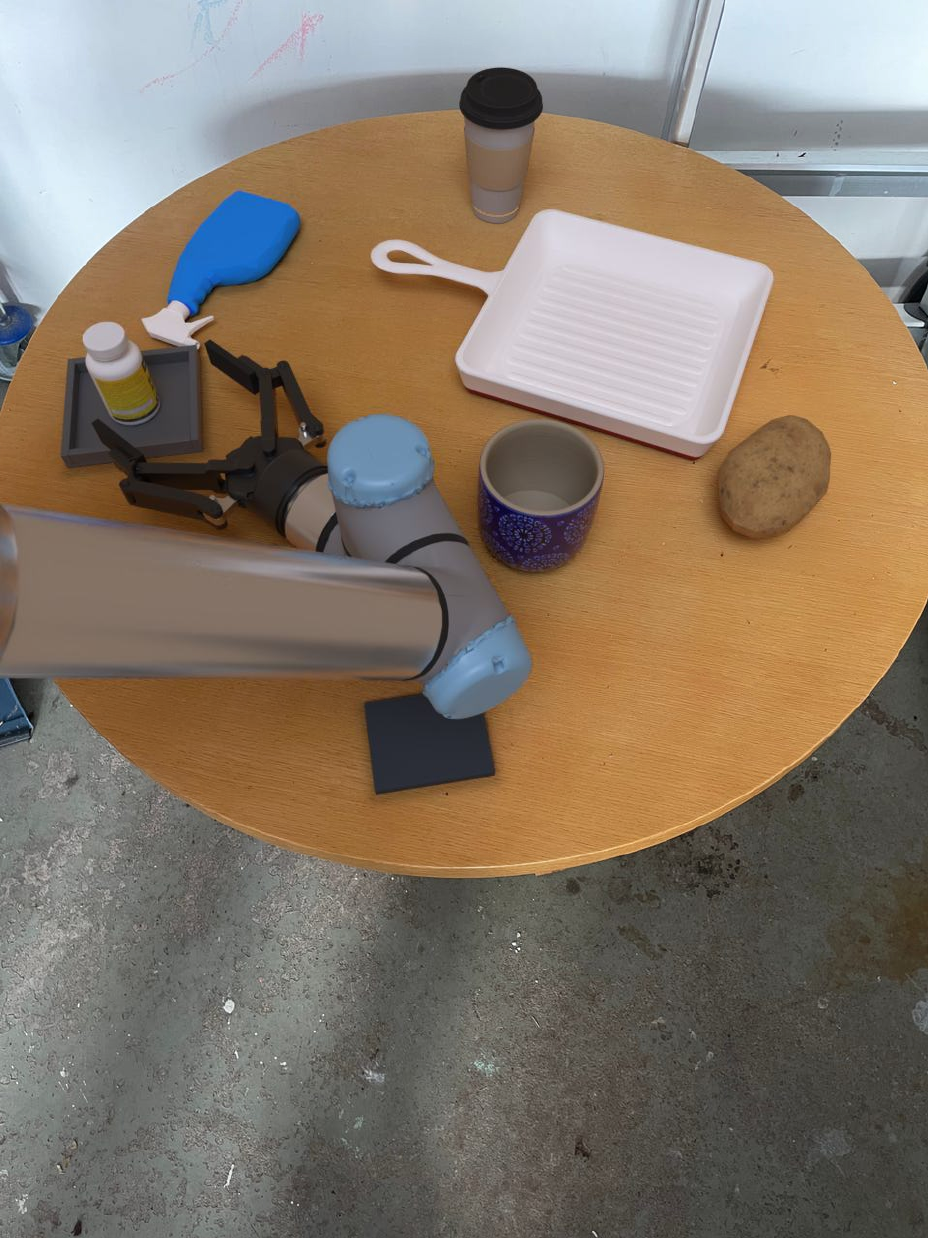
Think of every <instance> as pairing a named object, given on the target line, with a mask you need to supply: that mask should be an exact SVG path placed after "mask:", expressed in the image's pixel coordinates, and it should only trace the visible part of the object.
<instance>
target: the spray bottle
mask: <svg viewBox="0 0 928 1238" xmlns="http://www.w3.org/2000/svg"><path fill="white" fill-rule="evenodd" d="M301 223H302V221H301V215H300V214H299V212H298V211H297V210H296V209H294V207H293V206H292V205H290V204H289V203H286V202H282V201H279V200H275V199H271V198H269V197H266V196H265V197H264V196H261V195H257V194H254V193H251V192H247V191H244V190H241V189H240V190H239V189H238V190H236V191H235V192H233V193H232V194H230V195H229V196H228V197H226V198H225V199H224V200H223V201H222V202H221V203H220V204H219V205H217V207H216V208H215V209H214V210H213V211H212V212H211V213H210V214H209V215H208V216H207V217H206V218H205V219H204V221H203V222H201V223H200V225H199V227H197V229H196V230H195V232H194V233H193V235H192V236H191V237H190V239H189V241H187V243H186V245H185V247H184V249H183V250H182V251H181V253H180V255H179V257H178V259H177V263H176V265H175V269H174V272H173V274H172V278H171V282H170V286H169V289H168V294H167V297H166V302H167V305H168V306H167V307H163V308H162V309H161V310H160V311H159V312H157V313H156V314H154V315H151V316H148V317H142V318H141V319H140V320H141V322H142V325H143V327H144V329H145V330H146V332H147V333H148V335H149V336H150V337H151V338H154V339H156V340H159V341H161V342H165V343H168V344H170V345H174V346H175V347H180V346H189V345H196V346H197V349H198V350H199V349H200V347H201V343H200V341H199V340H196V339H194V338H192V335H193V334H194V333H195V332H196V331H198V330H200V329H201V328H203V327H204V326H206V325H207V324H208V323H210V322H213V321H214V320H215V318H214V315H210V316H207V317H203V318H201V319H198V320H194V321H193V322H185V321H186V319H187V318H188V317H194V316H196V315H197V314H198V312H199V310H200V309H199V308H200V305H201V304H202V303H204V302H205V299H206V297H207V295H209V294H211V291H212V289H213V288H215V287H218V286H219V287H220V286H221V287H230V286H231V287H232V286H237V285H243V284H245V285H246V284H250V283H254V282H255V281H257V280H259V279H261V278H263V277H265V276H267V275H268V274H269V273H270V272H272V269H274V268H275V266H276V265H277V264H278V263H279V261H280V260H281V259H282V258H283V257H284V255H285V254H286V252H287V250H288V248H289V247H290V245H291V243H292V242H293V240H294V239H295V237H296V235H297V234H298V232H299V231H300V228H301Z"/></svg>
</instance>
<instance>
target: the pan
mask: <svg viewBox="0 0 928 1238" xmlns="http://www.w3.org/2000/svg"><path fill="white" fill-rule="evenodd" d="M395 251H402V252H405V253H407V254H409V255H411V256H412V257H414V258H416V259H418V260H420V261H421V262H423V263H426V264H421V263H420V264H419V263H411V262H410V263H409V262H407V263H406V262H396V261H392V260H390V259H389V258H388V254H389V253H391V252H395ZM370 258H371V262H372V263H373V264H374V265H375V267H377V268H379V269H380V270H383V271H385V272H388V273H390V274H391V273H392V274H396V275H415V276H416V275H417V276H433V277H437V278H441V279H446V280H450V281H453V282H457V283H460V284H464V285H467V286H471V287H475V288H478V289H480V290H481V291H483V292H484V294H485V295H487V298H486V299H485V301H484V304H483V306H482V307H481V309H480V310H479V312H478V313H477V316H476V318H475V320H474V321H473V324H471V326H470V328H469V330H468V332H467V334H466V335H465V337H464V338H463V341H462V343H461V344H460V346H459V348H458V349H457V351H456V353H455V357H454V361H455V365H456V368H457V370H458V373H459V376H460V378H461V381H462V384H463V386H464V388H465V389H466V390H467V392H468V393H470V394H474V395H478V396H481V397H484V398H487V399H491V400H494V401H497V402H501V403H504V404H508V405H511V406H514V407H517V408H521V409H525V410H528V411H532V412H534V413H538V414H541V415H544V416H548V417H551V418H555V419H558V420H561V421H565V422H568V423H571V424H575V425H578V426H581V427H585V428H588V429H591V430H595V431H597V432H601V433H604V434H608V435H610V436H614V437H616V438H620V439H623V440H626V441H630V442H633V443H637V444H640V445H643V446H645V447H649V448H652V449H656V450H659V451H662V452H665V453H669V454H671V455H674V456H679V457H681V458H685V459H688V460H690V461H696V460H699V459H700V458H702V457H703V456H704V455H705V454H706V453H707V452H708V451H710V449H711V448H712V447H713V446H715V444H716V443H717V441H719V439H720V438H721V437H722V436H723V435H724V433H725V430H726V426H727V423H728V420H729V417H730V415H731V412H732V408H733V405H734V403H735V399H736V396H737V393H738V390H739V387H740V384H741V381H742V378H743V375H744V372H745V369H746V366H747V363H748V360H749V357H750V354H751V351H752V349H753V345H754V342H755V340H756V339H755V338H756V337H757V333H758V329H759V327H760V323H761V321H762V317H763V315H764V311H765V308H766V306H767V302H768V299H769V297H770V293H771V291H772V287H773V285H774V280H775V278H774V277H775V276H774V273H773V271H772V270H771V268H769V267H768V266H767V265H766V264H764V263H762V262H760V261H756V260H751V259H749V258H744V257H740V256H736V255H732V254H729V253H726V252H725V253H724V252H722V251H717V250H713V249H710V248H705V247H702V246H698V245H695V244H690V243H687V242H683V241H679V240H675V239H670V238H667V237H663V236H659V235H655V234H651V233H649V232H644V231H640V230H637V229H632V228H628V227H625V226H621V225H617V224H615V223H614V224H613V223H611V222H605V221H602V220H598V219H594V218H590V217H586V216H582V215H579V214H575V213H571V212H567V211H563V210H560V209H556V208H555V209H554V208H547V209H543V210H540V211H538V212H537V213H536V214H534V215H533V216H532V219H531V220H530V222H529V224H528V225H527V227H526V229H525V231H524V232H523V234H522V236H521V238H520V240H519V241H518V242H517V245H516V247H515V248H514V251H512V253H511V256H510V257H509V259H508V261H507V262H506V265H504V268H503V269H502V270H498V271H483V270H480V269H476V268H472V267H469V266H467V265H466V266H465V265H462V264H459V263H454V262H451V261H448V260H446V259H442V258H440V257H438V256H436V255H435V254H433V253H431V252H429V251H428V250H426V249H425V248H423V247H421V246H420V245H418V244H416V243H414V242H410V241H408V240H405V239H398V238H397V239H396V238H395V239H387V240H385V241H381V242H379V243H378V244H377V245H375V246H374V248H372V250H371V253H370Z"/></svg>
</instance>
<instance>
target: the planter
mask: <svg viewBox="0 0 928 1238" xmlns="http://www.w3.org/2000/svg"><path fill="white" fill-rule="evenodd" d="M478 462H479V463H478V470H477V471H478V473H477V498H476V499H477V502H476V503H477V504H476V505H477V518H478V519H477V520H478V527H479V531H480V534H481V537H482V539H483V542H484V544H485V545H486V547H487V548H488V550H489V552H491V554H493V555H494V557H495V558H496V559H498V560H499V561H500V562H501V563H503V564H505V565H507V566H509V567H511V568H513V569H515V570H519V571H522V572H529V573H541V572H547V571H551V570H554V569H557V568H559V567H561V566H563V565H565V564H567V563H569V562H570V561H571V560H572V559H574V558H575V557H576V555H578V554H579V552H580V551H581V549H582V548H583V547H584V546H585V543H586V541H587V539H588V537H589V535H590V533H591V529H592V527H593V524H594V521H595V517H596V513H597V510H598V507H599V504H600V503H599V502H600V498H601V494H602V491H603V490H602V489H603V484H604V479H605V463H604V460H603V456H602V453H601V452H600V449H599V448H598V447H597V445H596V443H595V442H594V441H593V440H592V438H590V437H589V436H588V435H586V433H584V432H583V431H581V430H580V429H578V428H576V427H575V426H573V425H570V424H568V423H565V422H563V421H558V420H555V419H548V418H529V419H523V420H522V419H521V420H518V421H515V422H513V423H510V424H507V425H506V426H504V427H502V428H501V429H499V430H497V431H496V432H495V433H494V434H493V435H492V436H491V437H490V438H488V441H487V442H486V443H485V445H484V446H483V447H482V450H481V453H480V456H479V461H478Z"/></svg>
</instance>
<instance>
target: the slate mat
mask: <svg viewBox="0 0 928 1238" xmlns="http://www.w3.org/2000/svg"><path fill="white" fill-rule="evenodd" d="M363 705H364V706H363V707H364V713H365V722H366V729H367V738H368V745H369V746H368V747H369V754H370V761H371V762H370V763H371V769H372V778H373V786H374V792H375V795H377V796H378V795H385V794H390V793H397V792H402V791H409V790H414V789H420V788H427V787H433V786H439V785H445V784H453V783H457V782H458V783H459V782H464V781H470V780H476V779H482V778H489V777H494V776H495V775H496V768H495V763H494V758H493V753H492V748H491V744H490V739H489V738H490V737H489V732H488V727H487V723H486V718H485V712H484V713H481V714H478V715H475V716H472V717H468V718H463V719H449V718H446V717H444V716H443V715H442V714H440V713H438V712H437V711H436V710H435V709H434V707H433V706H432V704H431V702H430V701H429V699H428V698H427V697H426V696H424V695H423V693H420V694H419V693H418V694H413V695H407V696H400V697H393V698H386V699H380V700H374V701H368V702H364V703H363Z"/></svg>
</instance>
